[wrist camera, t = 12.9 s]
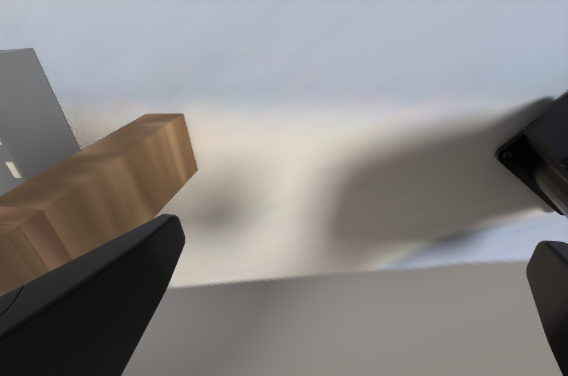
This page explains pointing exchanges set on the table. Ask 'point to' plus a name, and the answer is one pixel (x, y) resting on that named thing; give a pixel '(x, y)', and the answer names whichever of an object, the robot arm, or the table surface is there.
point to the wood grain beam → (92, 197)
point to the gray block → (29, 121)
